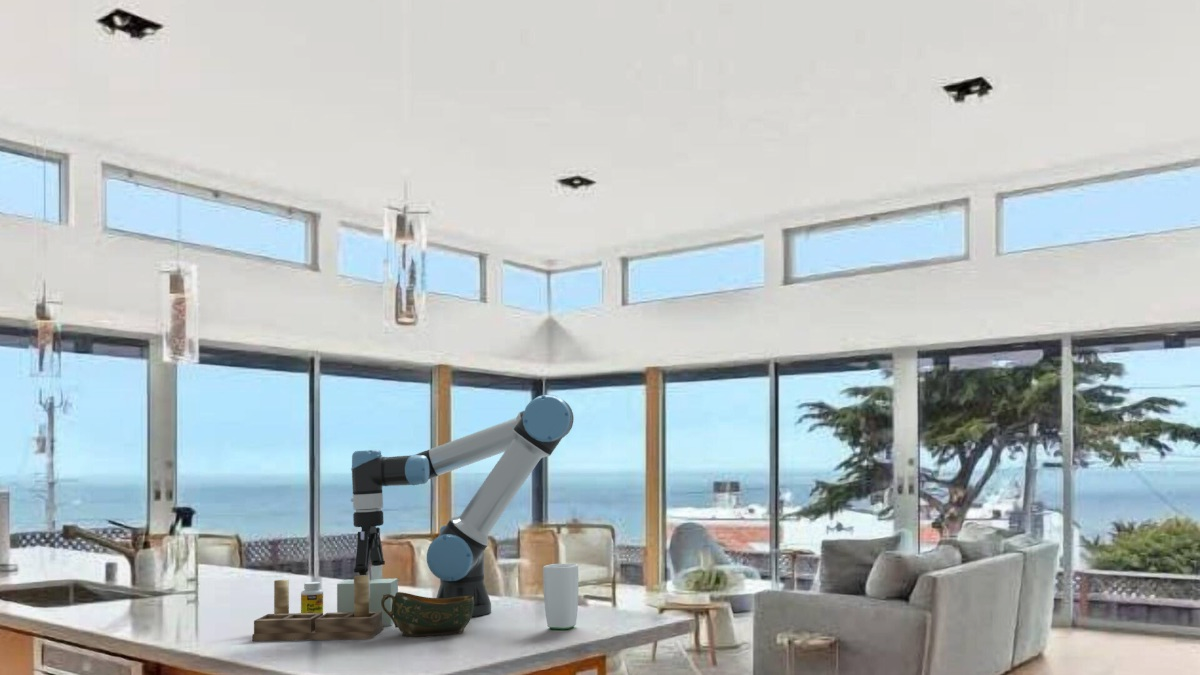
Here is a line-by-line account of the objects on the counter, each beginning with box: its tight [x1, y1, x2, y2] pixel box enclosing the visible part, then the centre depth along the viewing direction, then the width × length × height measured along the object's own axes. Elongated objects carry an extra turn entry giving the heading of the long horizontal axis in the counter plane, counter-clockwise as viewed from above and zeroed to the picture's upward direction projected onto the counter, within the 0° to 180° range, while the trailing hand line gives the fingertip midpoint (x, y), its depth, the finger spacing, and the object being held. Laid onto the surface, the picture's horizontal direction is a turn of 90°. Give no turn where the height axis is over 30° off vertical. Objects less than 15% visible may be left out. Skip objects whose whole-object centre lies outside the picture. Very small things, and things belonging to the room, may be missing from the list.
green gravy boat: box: [381, 591, 474, 638], centre depth 258 cm, size 13×20×10 cm, turn 78°
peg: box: [273, 579, 290, 614], centre depth 268 cm, size 4×4×12 cm
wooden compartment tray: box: [252, 575, 384, 642], centre depth 259 cm, size 28×12×14 cm, turn 89°
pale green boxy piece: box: [336, 578, 399, 627], centre depth 275 cm, size 14×9×10 cm, turn 89°
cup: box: [542, 563, 579, 630], centre depth 261 cm, size 7×7×15 cm
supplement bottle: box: [300, 581, 324, 614], centre depth 277 cm, size 6×6×10 cm
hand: (370, 594), depth 275 cm, fingers open, 13 cm apart
